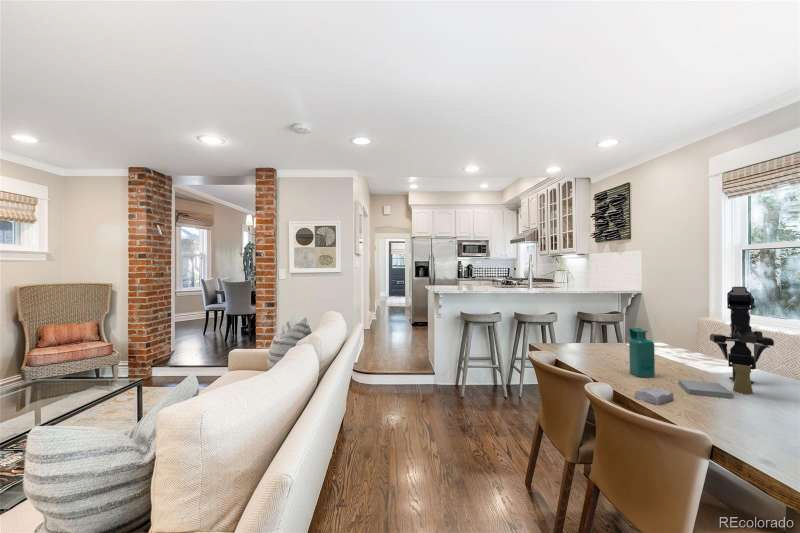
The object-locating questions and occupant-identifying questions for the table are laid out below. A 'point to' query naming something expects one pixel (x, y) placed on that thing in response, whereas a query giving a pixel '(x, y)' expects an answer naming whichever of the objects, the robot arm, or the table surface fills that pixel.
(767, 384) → the table surface
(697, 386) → the plinth
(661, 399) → the stone block
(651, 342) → the teal bottle
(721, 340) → the robot arm
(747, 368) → the cork
